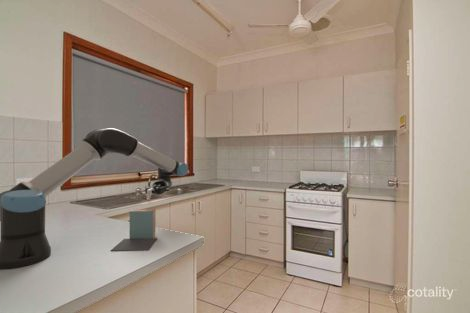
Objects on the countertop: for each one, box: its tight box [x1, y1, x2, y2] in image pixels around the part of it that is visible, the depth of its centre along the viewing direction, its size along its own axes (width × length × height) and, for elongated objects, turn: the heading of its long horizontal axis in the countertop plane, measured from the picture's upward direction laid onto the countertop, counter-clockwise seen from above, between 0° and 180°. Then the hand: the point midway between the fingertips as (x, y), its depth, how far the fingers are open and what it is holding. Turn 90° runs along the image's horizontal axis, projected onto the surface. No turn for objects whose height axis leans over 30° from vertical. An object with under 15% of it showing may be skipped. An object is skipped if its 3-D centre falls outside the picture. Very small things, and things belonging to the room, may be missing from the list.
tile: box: [128, 208, 157, 239], centre depth 106 cm, size 4×10×12 cm, turn 94°
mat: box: [110, 237, 158, 252], centre depth 97 cm, size 13×14×1 cm
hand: (148, 193), depth 114 cm, fingers closed
